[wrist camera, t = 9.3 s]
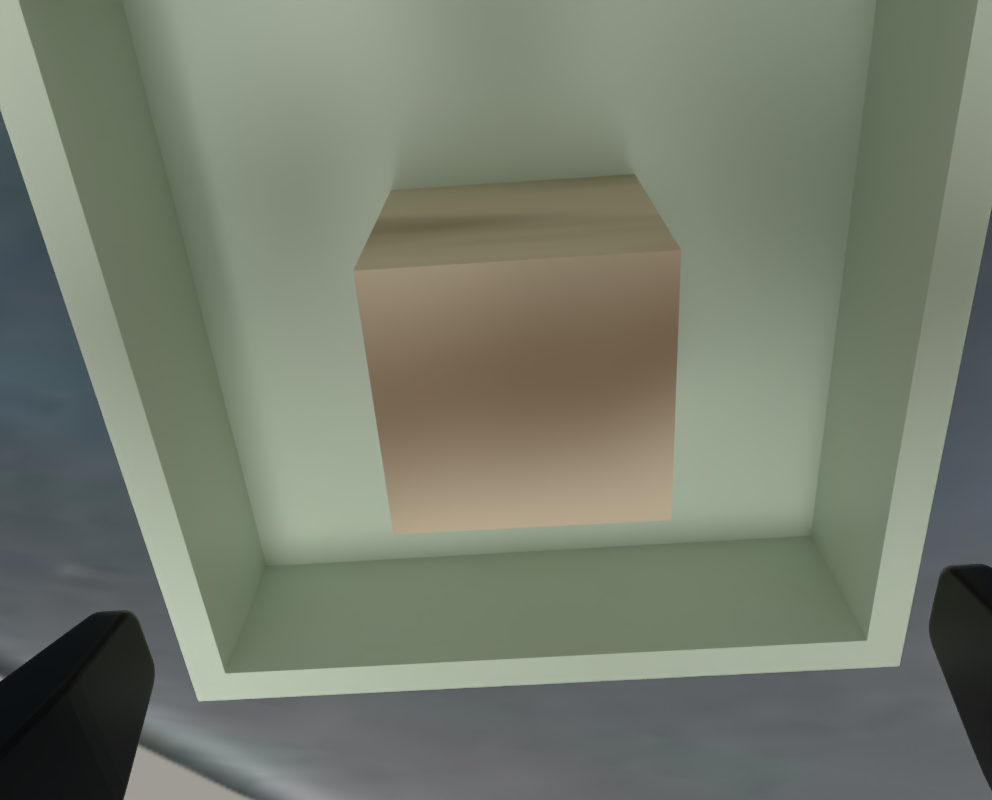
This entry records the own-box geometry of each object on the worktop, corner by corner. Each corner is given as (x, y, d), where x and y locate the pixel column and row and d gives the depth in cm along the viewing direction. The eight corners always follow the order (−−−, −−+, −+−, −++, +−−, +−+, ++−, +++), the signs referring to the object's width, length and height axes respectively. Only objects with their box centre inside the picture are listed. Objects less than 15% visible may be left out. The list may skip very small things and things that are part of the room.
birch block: (633, 391, 19) (671, 520, 15) (417, 404, 20) (393, 534, 15) (635, 173, 17) (681, 250, 13) (391, 190, 17) (353, 270, 13)
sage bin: (828, 539, 22) (899, 665, 18) (250, 572, 23) (198, 701, 19) (923, -159, 15) (1074, -199, 11) (74, -84, 16) (-69, -97, 12)
